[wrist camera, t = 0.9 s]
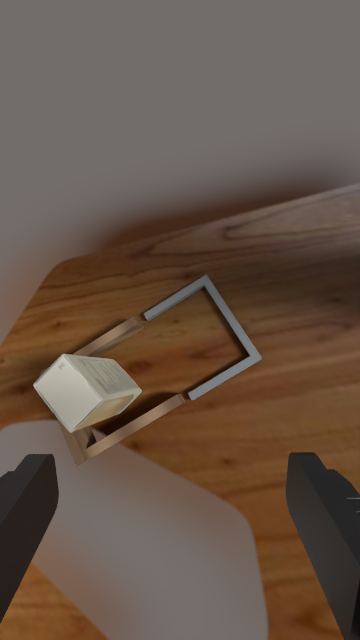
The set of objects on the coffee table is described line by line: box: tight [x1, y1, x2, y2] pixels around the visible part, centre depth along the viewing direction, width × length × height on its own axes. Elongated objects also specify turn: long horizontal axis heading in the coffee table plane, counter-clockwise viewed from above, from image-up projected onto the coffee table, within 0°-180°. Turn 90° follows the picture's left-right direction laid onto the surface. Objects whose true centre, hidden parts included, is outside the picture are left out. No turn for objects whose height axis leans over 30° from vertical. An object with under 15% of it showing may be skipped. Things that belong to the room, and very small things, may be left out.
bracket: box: [144, 274, 262, 400], centre depth 36 cm, size 10×13×1 cm
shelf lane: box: [38, 317, 185, 466], centre depth 35 cm, size 14×12×4 cm
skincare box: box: [33, 354, 142, 433], centre depth 31 cm, size 6×4×12 cm
